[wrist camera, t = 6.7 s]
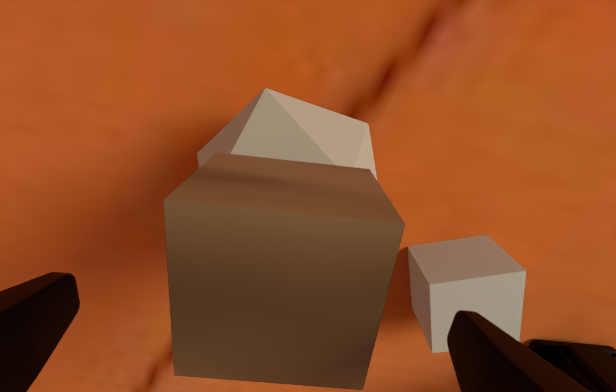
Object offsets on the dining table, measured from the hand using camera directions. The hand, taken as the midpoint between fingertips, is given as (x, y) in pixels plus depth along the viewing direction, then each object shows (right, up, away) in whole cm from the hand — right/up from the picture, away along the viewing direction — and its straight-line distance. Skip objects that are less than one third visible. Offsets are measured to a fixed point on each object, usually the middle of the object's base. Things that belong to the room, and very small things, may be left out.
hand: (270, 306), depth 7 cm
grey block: (+10, -2, +14) cm, 17 cm away
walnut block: (0, +1, +4) cm, 4 cm away
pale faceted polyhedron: (0, +4, +11) cm, 12 cm away
